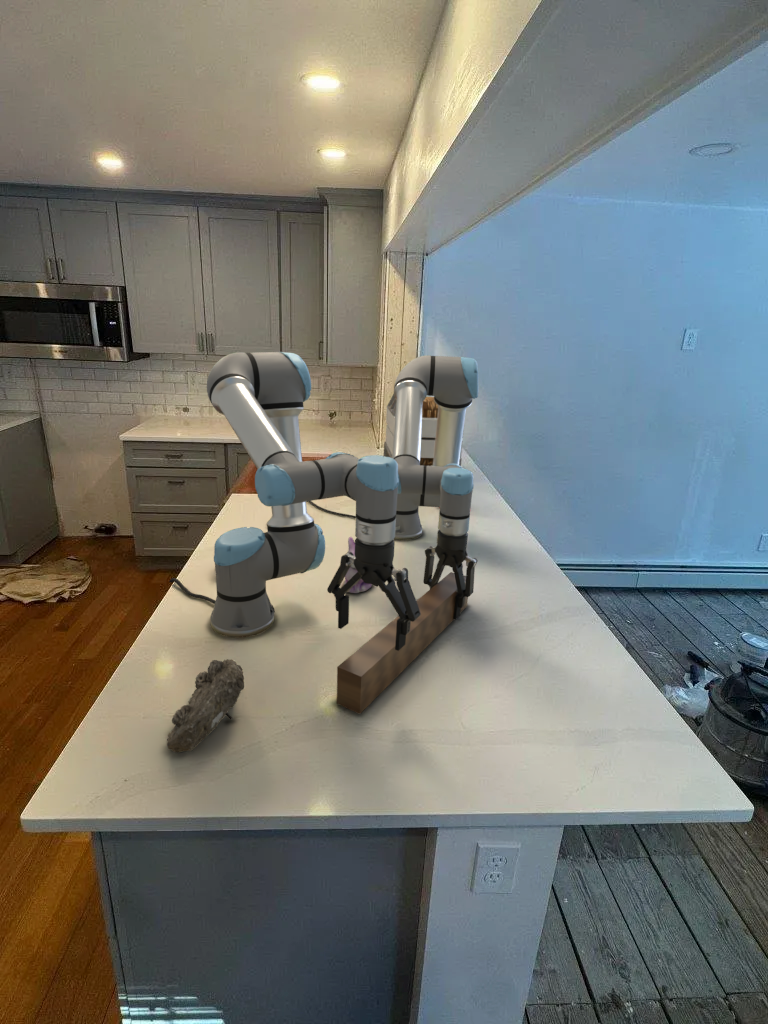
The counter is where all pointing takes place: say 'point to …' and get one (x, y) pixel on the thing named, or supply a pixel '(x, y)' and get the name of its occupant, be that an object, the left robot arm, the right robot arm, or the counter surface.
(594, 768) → the counter surface
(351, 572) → the figurine
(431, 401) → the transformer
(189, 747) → the fossil
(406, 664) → the beam
